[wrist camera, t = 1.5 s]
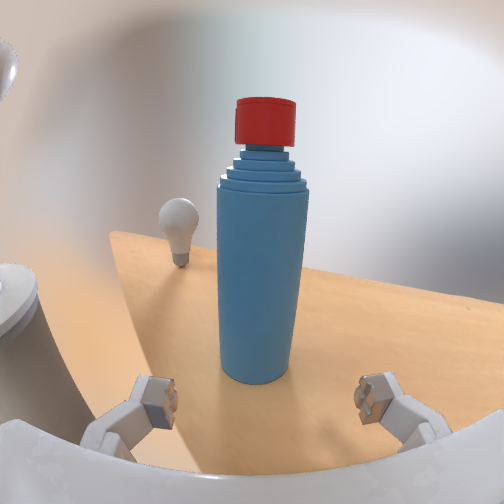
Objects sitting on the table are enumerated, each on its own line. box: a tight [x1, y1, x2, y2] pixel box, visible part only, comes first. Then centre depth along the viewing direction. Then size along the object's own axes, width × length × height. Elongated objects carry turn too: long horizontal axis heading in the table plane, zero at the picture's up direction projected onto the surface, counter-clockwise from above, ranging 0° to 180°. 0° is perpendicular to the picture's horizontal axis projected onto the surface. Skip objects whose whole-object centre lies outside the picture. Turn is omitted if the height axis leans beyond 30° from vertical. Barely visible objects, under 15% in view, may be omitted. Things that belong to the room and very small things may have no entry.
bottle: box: [217, 144, 309, 384], centre depth 21 cm, size 6×6×22 cm
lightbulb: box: [159, 198, 199, 267], centre depth 42 cm, size 6×6×11 cm
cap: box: [235, 97, 296, 147], centre depth 17 cm, size 4×4×3 cm
